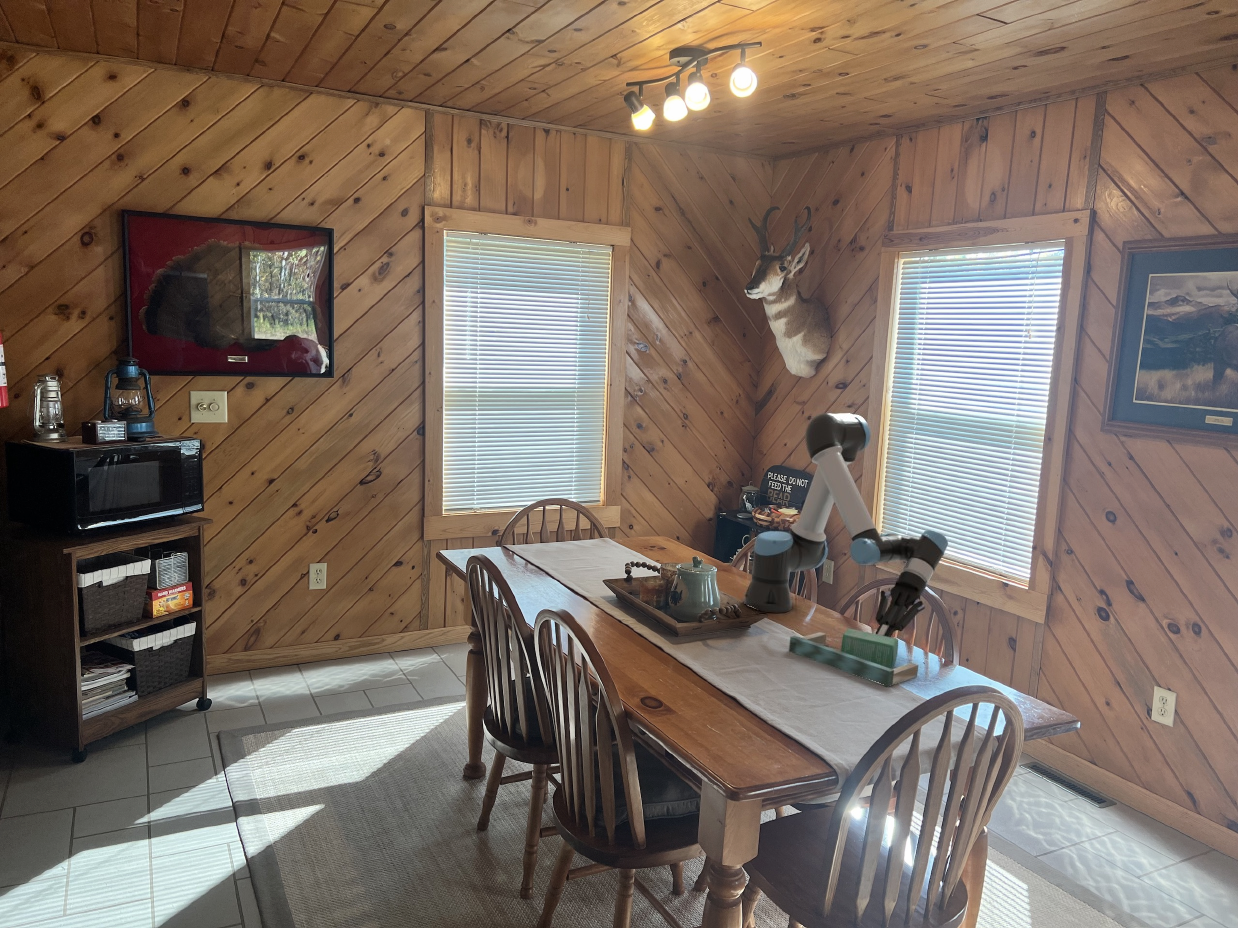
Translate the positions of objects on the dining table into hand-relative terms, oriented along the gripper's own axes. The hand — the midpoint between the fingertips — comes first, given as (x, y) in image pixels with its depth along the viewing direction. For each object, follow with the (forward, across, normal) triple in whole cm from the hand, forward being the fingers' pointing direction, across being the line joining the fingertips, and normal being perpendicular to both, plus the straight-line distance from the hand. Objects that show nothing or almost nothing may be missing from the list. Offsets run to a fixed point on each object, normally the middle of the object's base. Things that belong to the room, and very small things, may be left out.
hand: (876, 647), depth 236 cm
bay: (+9, +1, +4) cm, 10 cm away
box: (+6, -1, +1) cm, 6 cm away
